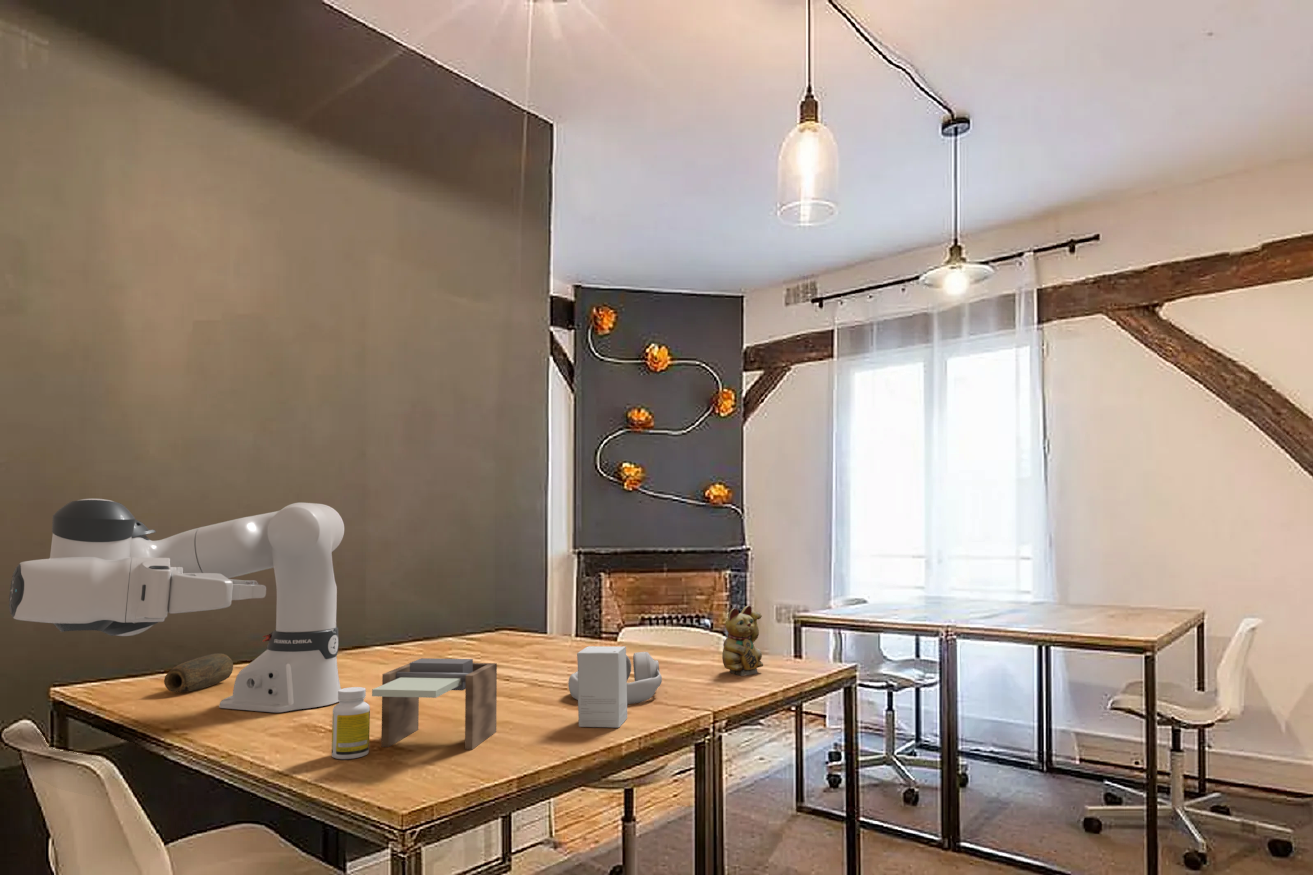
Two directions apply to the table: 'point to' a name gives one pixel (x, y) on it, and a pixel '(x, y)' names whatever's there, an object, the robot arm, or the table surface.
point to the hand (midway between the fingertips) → (261, 589)
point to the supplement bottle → (350, 724)
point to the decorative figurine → (742, 642)
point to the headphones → (643, 674)
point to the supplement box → (602, 686)
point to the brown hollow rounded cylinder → (199, 673)
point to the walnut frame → (478, 707)
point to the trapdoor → (428, 678)
